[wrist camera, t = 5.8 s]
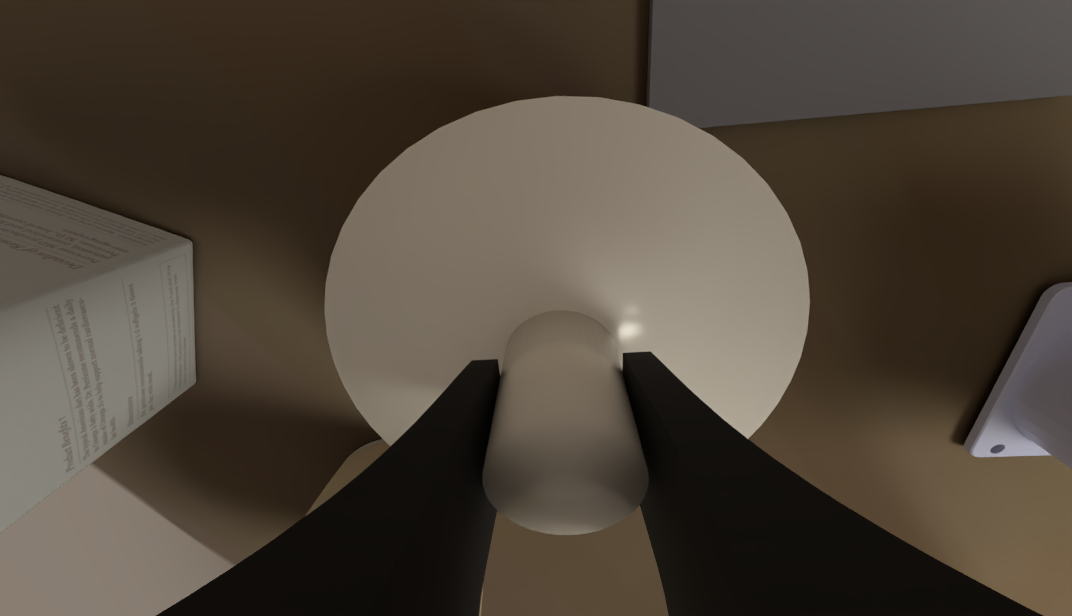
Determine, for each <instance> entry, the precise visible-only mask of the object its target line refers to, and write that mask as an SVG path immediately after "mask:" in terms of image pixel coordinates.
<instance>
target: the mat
mask: <svg viewBox="0 0 1072 616" xmlns="http://www.w3.org/2000/svg"><path fill="white" fill-rule="evenodd" d="M1069 95H1072V0H650V13H649V42H648V72H647V101H646V107H649V108H652V109H655V110H657V111H660V112H663V113H666V114H669V115H672V116H675V117H678V118H680V119H682V120H684V121H686V122H688V123H690V124H691V125H693V126H695V127H697V128H707V127H718V126H729V125H740V124H752V123H763V122H774V121H786V120H797V119H808V118H820V117H831V116H842V115H854V114H865V113H876V112H888V111H899V110H910V109H921V108H933V107H944V106H955V105H967V104H978V103H989V102H1001V101H1012V100H1023V99H1035V98H1046V97H1057V96H1069Z"/></svg>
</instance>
